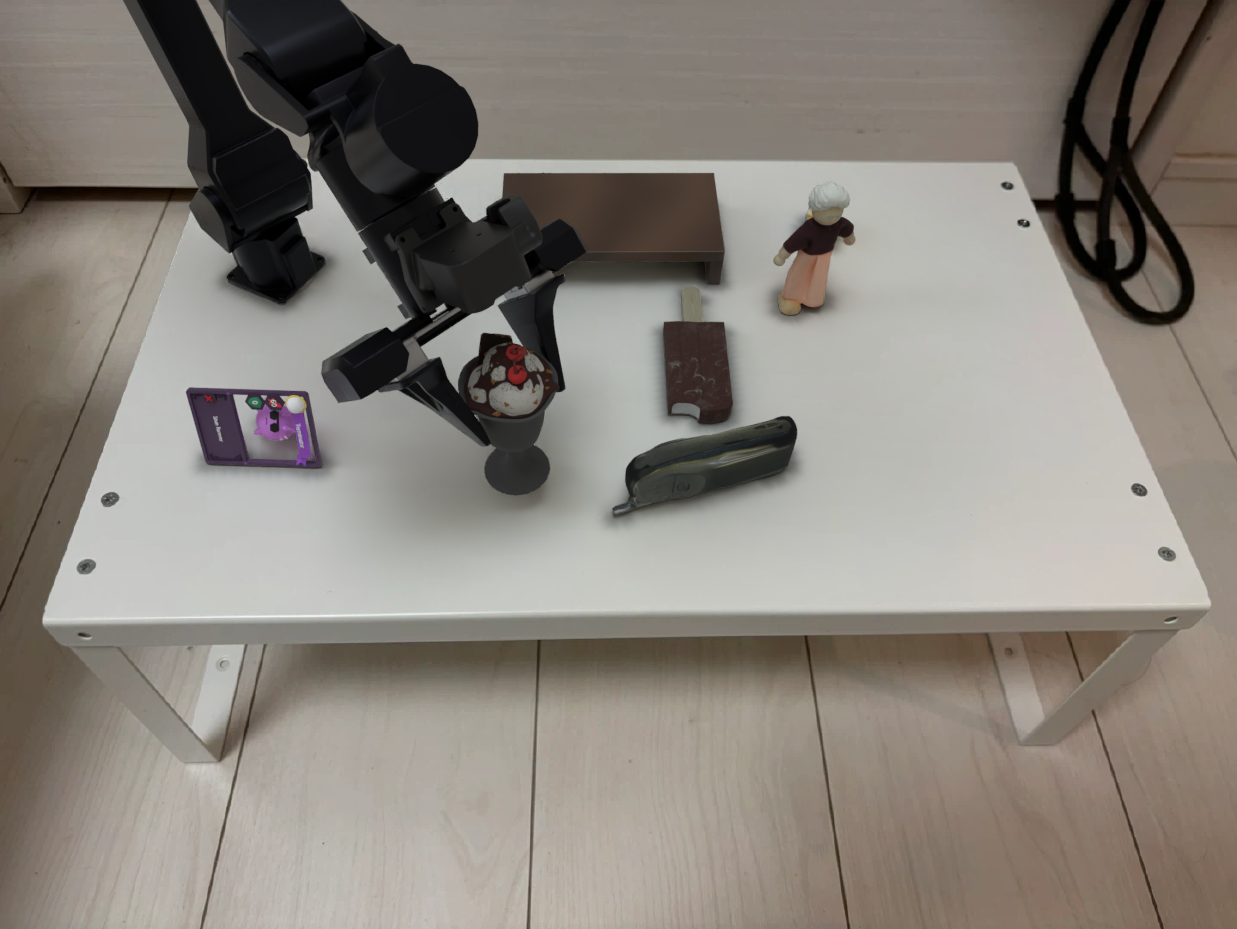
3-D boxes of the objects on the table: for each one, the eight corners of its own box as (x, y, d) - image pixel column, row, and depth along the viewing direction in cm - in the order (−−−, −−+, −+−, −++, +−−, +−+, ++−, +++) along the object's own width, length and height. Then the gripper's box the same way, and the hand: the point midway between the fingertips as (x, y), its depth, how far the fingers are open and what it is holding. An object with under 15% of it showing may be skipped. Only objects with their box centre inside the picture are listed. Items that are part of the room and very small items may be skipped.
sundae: (550, 513, 68) (543, 380, 55) (462, 496, 68) (435, 361, 56) (571, 442, 71) (568, 303, 59) (487, 426, 72) (467, 286, 60)
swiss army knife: (789, 405, 71) (605, 455, 68) (807, 434, 69) (619, 487, 66) (777, 444, 75) (603, 493, 72) (794, 473, 73) (617, 524, 70)
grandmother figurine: (785, 329, 82) (812, 215, 72) (758, 302, 84) (781, 188, 74) (850, 296, 85) (886, 181, 74) (823, 271, 87) (854, 156, 76)
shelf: (501, 285, 85) (498, 252, 81) (507, 206, 91) (503, 172, 88) (719, 284, 85) (724, 251, 82) (709, 206, 92) (714, 172, 88)
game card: (181, 394, 68) (303, 398, 68) (208, 360, 72) (323, 364, 72) (202, 469, 72) (318, 473, 72) (226, 432, 76) (336, 436, 76)
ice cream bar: (660, 293, 84) (668, 424, 76) (661, 280, 83) (669, 411, 74) (718, 294, 85) (732, 424, 76) (720, 280, 83) (734, 411, 75)
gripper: (300, 258, 47) (462, 505, 52) (566, 109, 55) (686, 335, 60) (259, 290, 57) (399, 496, 62) (490, 159, 65) (599, 350, 70)
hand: (524, 417), depth 63 cm, fingers closed on sundae, 6 cm apart
